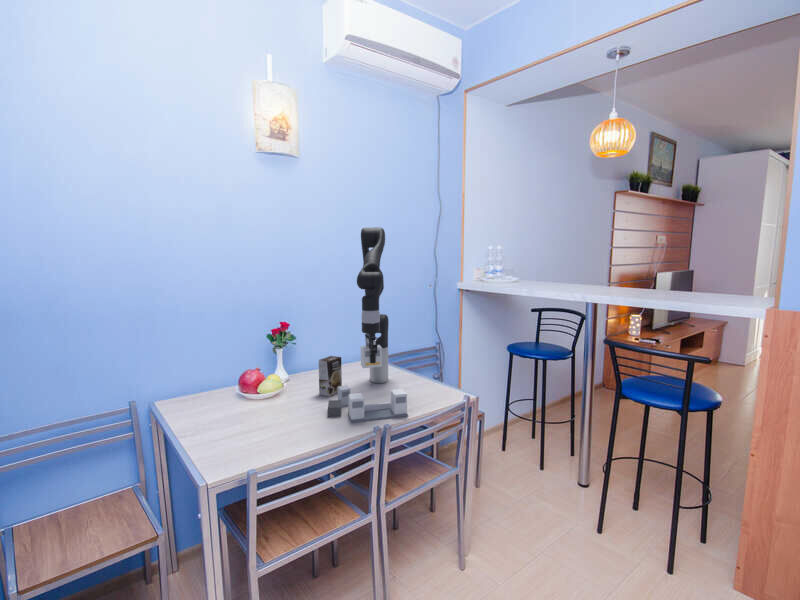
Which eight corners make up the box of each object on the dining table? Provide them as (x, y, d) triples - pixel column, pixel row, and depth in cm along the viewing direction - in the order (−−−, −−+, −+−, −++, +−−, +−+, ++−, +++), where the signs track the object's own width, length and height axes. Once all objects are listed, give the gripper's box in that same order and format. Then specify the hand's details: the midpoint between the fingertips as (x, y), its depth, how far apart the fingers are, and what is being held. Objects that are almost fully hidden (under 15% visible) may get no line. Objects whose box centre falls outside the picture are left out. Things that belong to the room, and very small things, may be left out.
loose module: (360, 364, 174) (360, 346, 172) (379, 363, 176) (379, 344, 175) (363, 368, 169) (362, 349, 167) (382, 366, 171) (382, 347, 170)
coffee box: (330, 397, 184) (329, 361, 182) (318, 394, 187) (317, 359, 185) (342, 390, 192) (341, 356, 190) (331, 388, 195) (330, 355, 193)
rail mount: (348, 413, 165) (347, 392, 164) (401, 407, 171) (401, 387, 170) (351, 422, 156) (351, 400, 155) (407, 416, 162) (407, 394, 161)
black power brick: (329, 409, 170) (328, 400, 169) (341, 409, 170) (341, 399, 170) (328, 417, 162) (327, 407, 161) (340, 417, 162) (340, 407, 162)
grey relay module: (337, 402, 177) (337, 386, 176) (346, 400, 179) (346, 385, 178) (341, 406, 173) (341, 390, 172) (350, 404, 174) (350, 388, 173)
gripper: (358, 318, 175) (359, 357, 178) (365, 324, 162) (365, 366, 164) (376, 317, 177) (376, 356, 180) (383, 323, 164) (384, 365, 166)
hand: (371, 360), depth 172 cm, fingers closed on loose module, 5 cm apart
